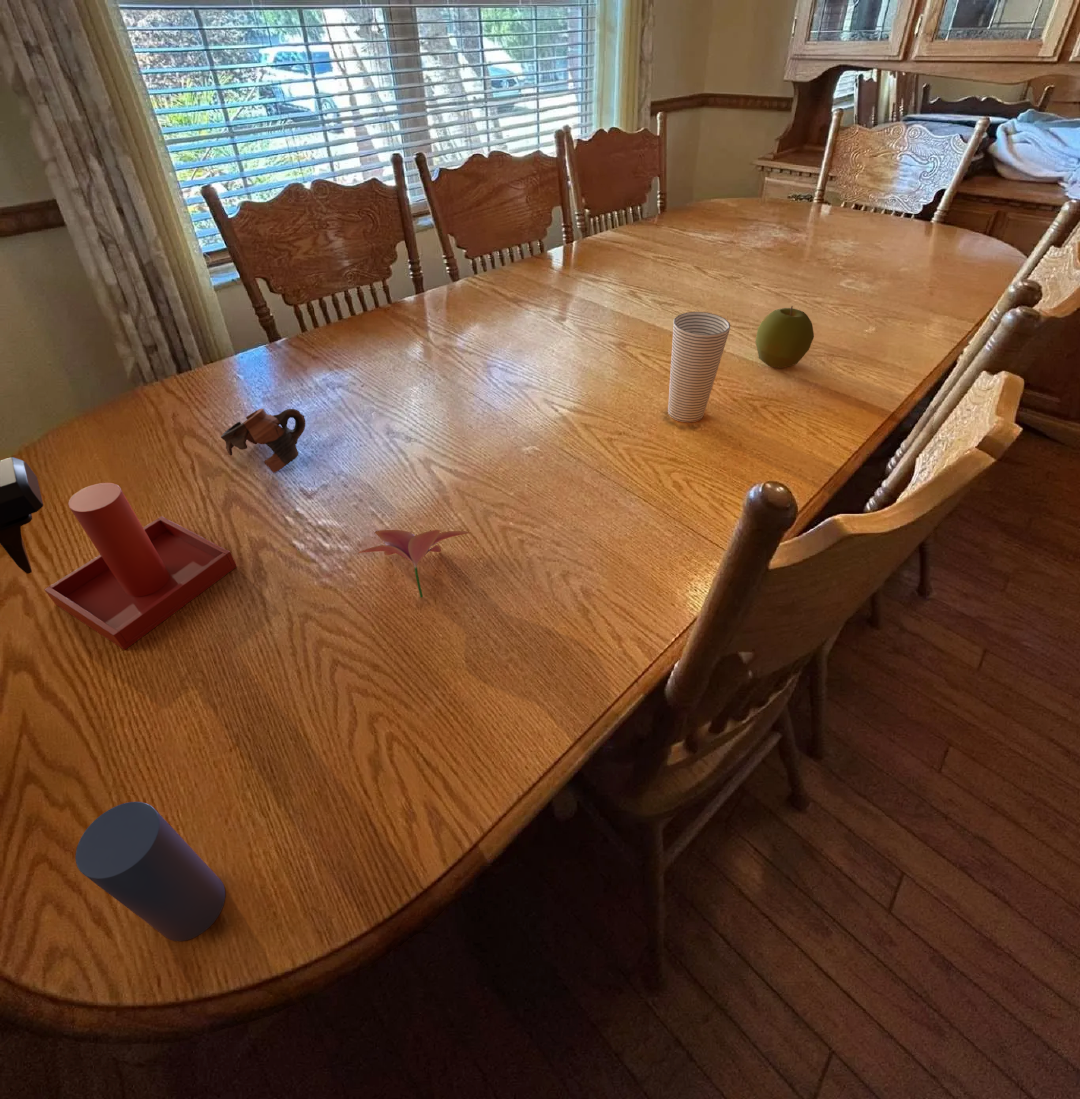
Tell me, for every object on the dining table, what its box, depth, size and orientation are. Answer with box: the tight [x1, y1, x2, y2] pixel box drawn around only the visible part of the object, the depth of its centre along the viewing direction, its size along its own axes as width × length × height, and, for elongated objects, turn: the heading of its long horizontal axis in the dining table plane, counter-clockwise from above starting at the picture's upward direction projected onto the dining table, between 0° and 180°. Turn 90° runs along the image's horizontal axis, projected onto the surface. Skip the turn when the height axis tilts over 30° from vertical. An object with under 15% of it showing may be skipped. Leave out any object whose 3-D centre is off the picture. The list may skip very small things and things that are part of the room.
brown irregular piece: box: [220, 408, 306, 474], centre depth 95 cm, size 12×10×8 cm
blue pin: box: [75, 801, 226, 942], centre depth 46 cm, size 5×5×13 cm
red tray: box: [43, 515, 238, 651], centre depth 75 cm, size 15×13×3 cm
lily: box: [357, 529, 471, 598], centre depth 75 cm, size 12×12×10 cm
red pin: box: [68, 482, 169, 597], centre depth 71 cm, size 5×5×13 cm
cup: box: [667, 311, 731, 423], centre depth 100 cm, size 8×8×16 cm
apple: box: [754, 305, 815, 369], centre depth 115 cm, size 10×10×11 cm
